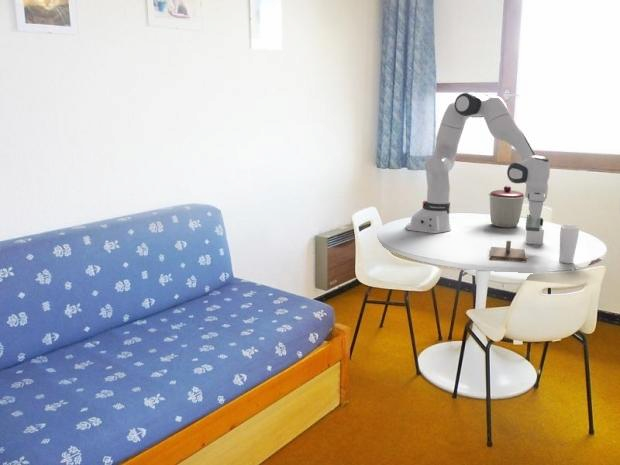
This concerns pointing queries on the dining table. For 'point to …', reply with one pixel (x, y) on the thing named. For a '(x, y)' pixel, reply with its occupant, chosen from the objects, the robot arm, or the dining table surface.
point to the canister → (505, 207)
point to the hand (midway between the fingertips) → (532, 224)
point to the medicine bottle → (535, 235)
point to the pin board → (508, 253)
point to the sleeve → (528, 224)
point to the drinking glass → (568, 243)
